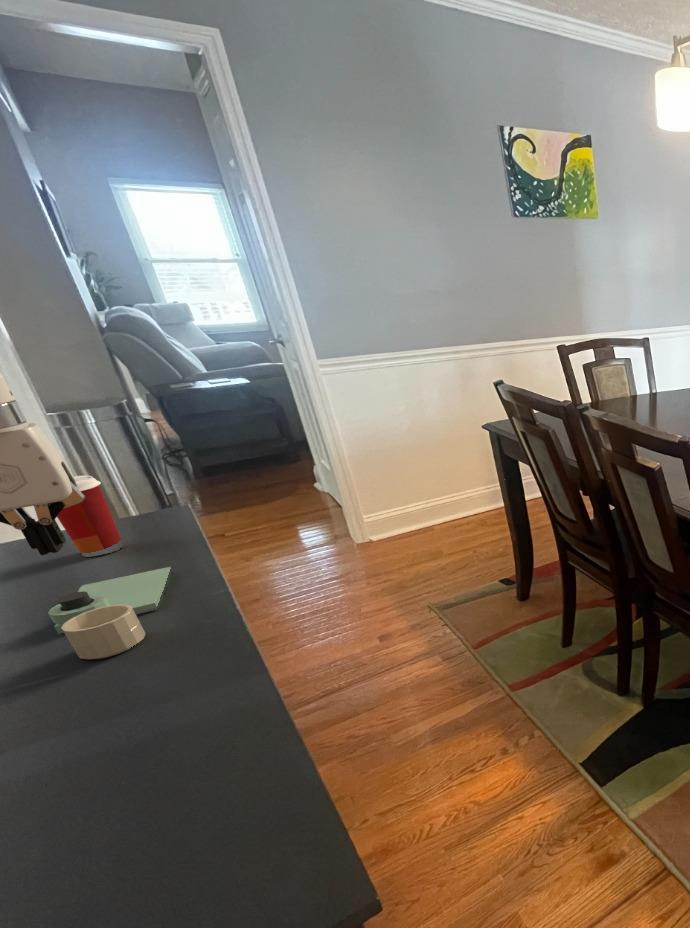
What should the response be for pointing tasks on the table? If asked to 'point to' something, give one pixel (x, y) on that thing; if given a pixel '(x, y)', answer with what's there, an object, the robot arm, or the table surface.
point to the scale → (118, 594)
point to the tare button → (75, 601)
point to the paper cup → (90, 518)
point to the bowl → (104, 631)
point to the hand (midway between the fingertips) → (52, 550)
